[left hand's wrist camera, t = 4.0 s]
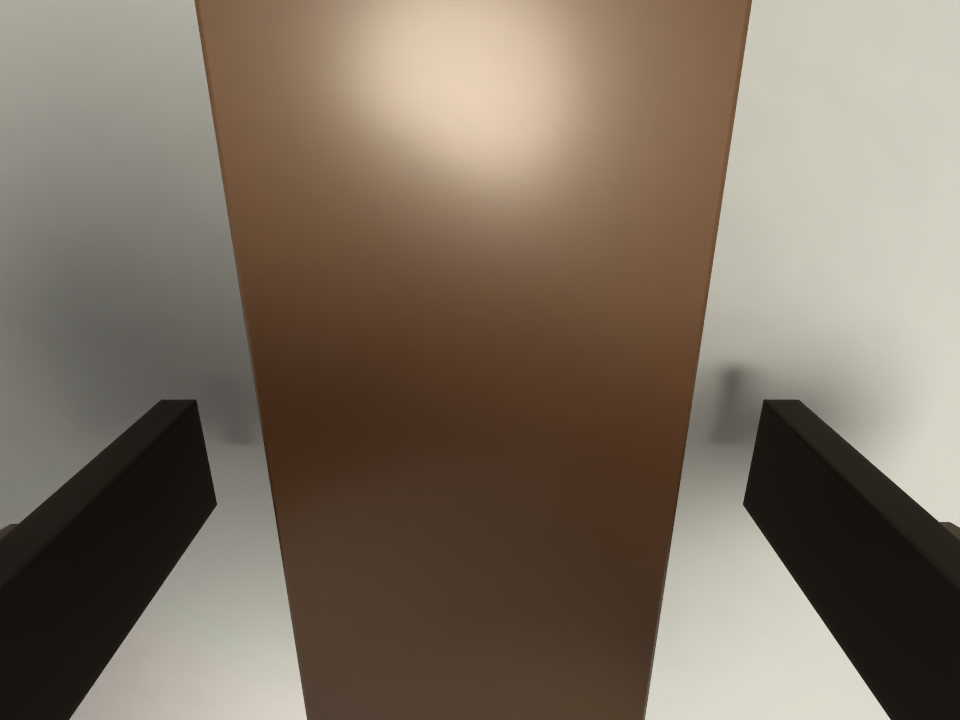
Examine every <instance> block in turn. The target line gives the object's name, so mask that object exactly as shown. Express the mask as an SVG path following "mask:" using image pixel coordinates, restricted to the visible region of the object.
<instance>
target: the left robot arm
mask: <svg viewBox="0 0 960 720" xmlns="http://www.w3.org/2000/svg"><path fill="white" fill-rule="evenodd" d="M216 505H217V502H216V497H215V492H214V487H213V482H212V477H211V472H210V467H209V462H208V457H207V452H206V447H205V442H204V436H203V431H202V426H201V421H200V416H199V411H198V406H197V401H196V400H161V401H159V402H158V403H157V404H156V405H155V406H154V407H152V408H151V409H150V410H149V411H148V412H147V413H146V414H144V415H143V416H142V417H141V418H140V419H139V420H138V421H136V422H135V423H134V424H133V425H132V426H131V427H130V428H128V429H127V430H126V431H125V432H124V433H123V434H122V435H120V436H119V437H118V438H117V439H116V440H115V441H113V442H112V443H111V444H110V445H109V446H108V447H107V448H105V449H104V450H103V451H102V452H101V453H100V454H99V455H97V456H96V457H95V458H94V459H93V460H92V461H91V462H89V463H88V464H87V465H86V466H85V467H84V468H83V469H81V470H80V471H79V472H78V473H77V474H76V475H74V476H73V477H72V478H71V479H70V480H69V481H68V482H66V483H65V484H64V485H63V486H62V487H61V488H60V489H58V490H57V491H56V492H55V493H54V494H53V495H52V496H50V497H49V498H48V499H47V500H46V501H45V502H43V503H42V504H41V505H40V506H39V507H38V508H37V509H35V510H34V511H33V512H32V513H31V514H30V515H29V516H27V517H26V518H25V519H24V520H23V521H22V522H21V523H19V524H10V525H9V526H7V527H5V528H3V529H1V530H0V720H69V719H70V718H71V716H72V715H73V713H74V712H75V710H76V709H77V708H78V706H79V705H80V703H81V702H82V700H83V699H84V697H85V696H86V694H87V693H88V692H89V690H90V689H91V687H92V686H93V684H94V683H95V681H96V680H97V678H98V677H99V676H100V674H101V673H102V671H103V670H104V668H105V667H106V665H107V664H108V662H109V661H110V660H111V658H112V657H113V655H114V654H115V652H116V651H117V649H118V648H119V646H120V645H121V644H122V642H123V641H124V639H125V638H126V636H127V635H128V633H129V632H130V630H131V629H132V628H133V626H134V625H135V623H136V622H137V620H138V619H139V617H140V616H141V614H142V613H143V612H144V610H145V609H146V607H147V606H148V604H149V603H150V601H151V600H152V598H153V597H154V596H155V594H156V593H157V591H158V590H159V588H160V587H161V585H162V584H163V582H164V581H165V580H166V578H167V577H168V575H169V574H170V572H171V571H172V569H173V568H174V566H175V565H176V564H177V562H178V561H179V559H180V558H181V556H182V555H183V553H184V552H185V550H186V549H187V548H188V546H189V545H190V543H191V542H192V540H193V539H194V537H195V536H196V534H197V533H198V532H199V530H200V529H201V527H202V526H203V524H204V523H205V521H206V520H207V518H208V517H209V516H210V514H211V513H212V511H213V510H214V508H215V507H216ZM743 505H744V507H745V508H746V510H747V511H748V513H749V514H750V516H751V517H752V518H753V520H754V521H755V523H756V524H757V526H758V527H759V529H760V530H761V532H762V533H763V534H764V536H765V537H766V539H767V540H768V542H769V543H770V545H771V546H772V548H773V549H774V550H775V552H776V553H777V555H778V556H779V558H780V559H781V561H782V562H783V564H784V565H785V566H786V568H787V569H788V571H789V572H790V574H791V575H792V577H793V578H794V580H795V581H796V582H797V584H798V585H799V587H800V588H801V590H802V591H803V593H804V594H805V596H806V597H807V598H808V600H809V601H810V603H811V604H812V606H813V607H814V609H815V610H816V612H817V613H818V614H819V616H820V617H821V619H822V620H823V622H824V623H825V625H826V626H827V628H828V629H829V630H830V632H831V633H832V635H833V636H834V638H835V639H836V641H837V642H838V644H839V645H840V646H841V648H842V649H843V651H844V652H845V654H846V655H847V657H848V658H849V660H850V661H851V662H852V664H853V665H854V667H855V668H856V670H857V671H858V673H859V674H860V676H861V677H862V678H863V680H864V681H865V683H866V684H867V686H868V687H869V689H870V690H871V692H872V693H873V694H874V696H875V697H876V699H877V700H878V702H879V703H880V705H881V706H882V708H883V709H884V710H885V712H886V713H887V715H888V716H889V718H890V719H891V720H960V528H959V527H958V526H956V525H954V524H952V523H950V522H938V521H937V520H936V519H935V518H934V517H933V516H931V515H930V514H929V513H928V512H927V511H926V510H925V509H923V508H922V507H921V506H920V505H919V504H918V503H916V502H915V501H914V500H913V499H912V498H911V497H910V496H908V495H907V494H906V493H905V492H904V491H903V490H902V489H900V488H899V487H898V486H897V485H896V484H895V483H894V482H892V481H891V480H890V479H889V478H888V477H887V476H886V475H884V474H883V473H882V472H881V471H880V470H879V469H877V468H876V467H875V466H874V465H873V464H872V463H871V462H869V461H868V460H867V459H866V458H865V457H864V456H863V455H861V454H860V453H859V452H858V451H857V450H856V449H855V448H853V447H852V446H851V445H850V444H849V443H848V442H846V441H845V440H844V439H843V438H842V437H841V436H840V435H838V434H837V433H836V432H835V431H834V430H833V429H832V428H830V427H829V426H828V425H827V424H826V423H825V422H824V421H822V420H821V419H820V418H819V417H818V416H817V415H816V414H814V413H813V412H812V411H811V410H810V409H809V408H807V407H806V406H805V405H804V404H803V403H802V402H801V401H799V400H764V401H763V406H762V411H761V416H760V421H759V426H758V431H757V436H756V441H755V446H754V452H753V457H752V462H751V467H750V472H749V477H748V482H747V487H746V492H745V497H744V502H743Z"/></svg>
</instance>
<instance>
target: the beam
mask: <svg viewBox="0 0 960 720" xmlns="http://www.w3.org/2000/svg"><path fill="white" fill-rule="evenodd" d="M751 3H752V0H195V6H196V13H197V19H198V25H199V32H200V38H201V44H202V51H203V57H204V64H205V70H206V76H207V83H208V89H209V96H210V102H211V108H212V115H213V121H214V127H215V134H216V140H217V147H218V153H219V159H220V166H221V172H222V179H223V185H224V191H225V198H226V204H227V210H228V217H229V223H230V230H231V236H232V242H233V249H234V255H235V262H236V268H237V274H238V281H239V287H240V293H241V300H242V306H243V313H244V319H245V325H246V332H247V338H248V345H249V351H250V357H251V364H252V370H253V376H254V383H255V389H256V396H257V402H258V408H259V415H260V421H261V428H262V434H263V440H264V447H265V453H266V459H267V466H268V472H269V479H270V485H271V491H272V498H273V504H274V511H275V517H276V523H277V530H278V536H279V542H280V549H281V555H282V562H283V568H284V574H285V581H286V587H287V594H288V600H289V606H290V613H291V619H292V625H293V632H294V638H295V645H296V651H297V657H298V664H299V670H300V677H301V683H302V689H303V696H304V702H305V708H306V715H307V720H645V714H646V707H647V700H648V694H649V687H650V680H651V674H652V667H653V660H654V653H655V647H656V640H657V633H658V627H659V620H660V613H661V607H662V600H663V593H664V586H665V580H666V573H667V566H668V560H669V553H670V546H671V540H672V533H673V526H674V519H675V513H676V506H677V499H678V493H679V486H680V479H681V472H682V466H683V459H684V452H685V446H686V439H687V432H688V426H689V419H690V412H691V405H692V399H693V392H694V385H695V379H696V372H697V365H698V359H699V352H700V345H701V338H702V332H703V325H704V318H705V312H706V305H707V298H708V292H709V285H710V278H711V271H712V265H713V258H714V251H715V245H716V238H717V231H718V225H719V218H720V211H721V204H722V198H723V191H724V184H725V178H726V171H727V164H728V157H729V151H730V144H731V137H732V131H733V124H734V117H735V111H736V104H737V97H738V90H739V84H740V77H741V70H742V64H743V57H744V50H745V44H746V37H747V30H748V23H749V17H750V10H751Z"/></svg>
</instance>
